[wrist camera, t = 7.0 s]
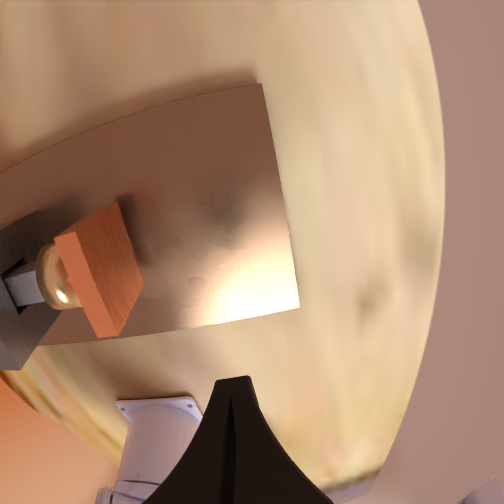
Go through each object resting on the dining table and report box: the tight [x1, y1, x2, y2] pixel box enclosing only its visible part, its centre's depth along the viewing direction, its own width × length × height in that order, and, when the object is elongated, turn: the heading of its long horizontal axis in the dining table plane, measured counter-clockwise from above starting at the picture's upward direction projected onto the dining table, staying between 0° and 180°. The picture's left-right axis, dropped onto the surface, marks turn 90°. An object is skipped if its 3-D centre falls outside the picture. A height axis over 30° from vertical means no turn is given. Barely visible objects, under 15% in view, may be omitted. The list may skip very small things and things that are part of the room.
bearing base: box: [0, 83, 299, 370], centre depth 14 cm, size 28×14×9 cm, turn 101°
